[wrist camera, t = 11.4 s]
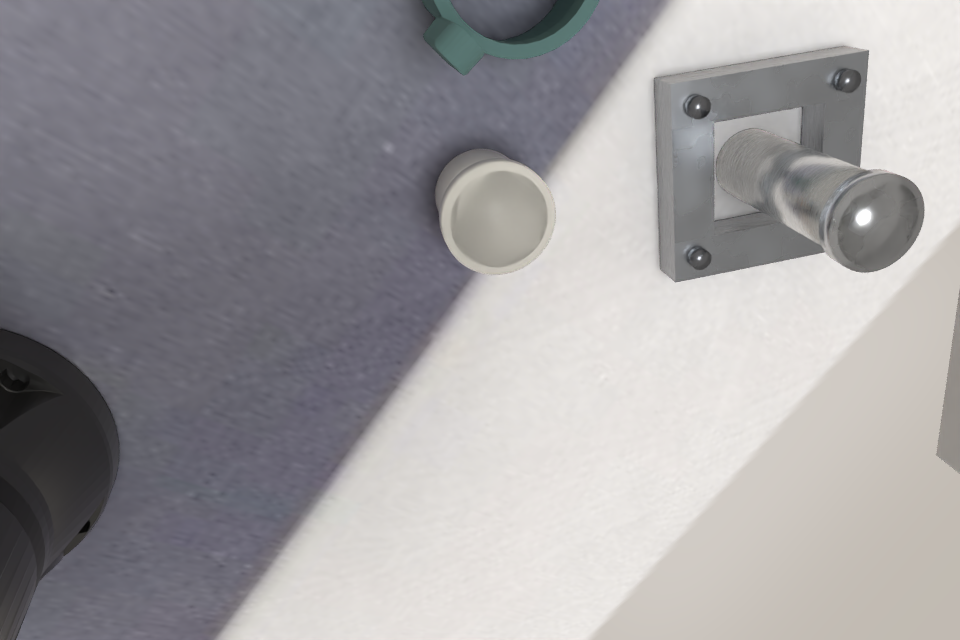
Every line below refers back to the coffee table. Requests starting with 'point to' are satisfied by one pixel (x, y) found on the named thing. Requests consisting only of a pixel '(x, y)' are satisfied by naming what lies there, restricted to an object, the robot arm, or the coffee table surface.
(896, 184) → the grey cylinder
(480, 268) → the cup
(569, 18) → the green cup holder
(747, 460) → the coffee table surface
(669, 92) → the socket
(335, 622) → the coffee table surface
